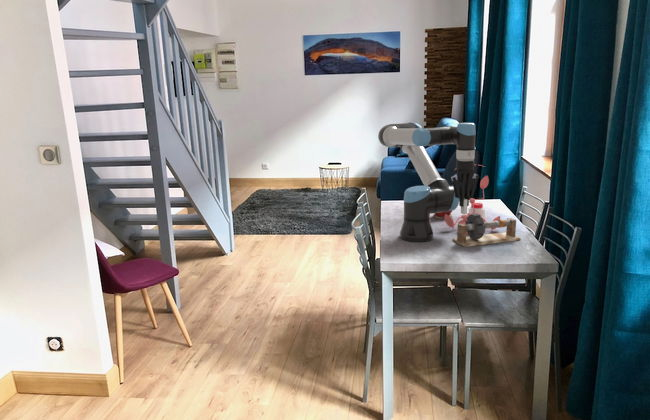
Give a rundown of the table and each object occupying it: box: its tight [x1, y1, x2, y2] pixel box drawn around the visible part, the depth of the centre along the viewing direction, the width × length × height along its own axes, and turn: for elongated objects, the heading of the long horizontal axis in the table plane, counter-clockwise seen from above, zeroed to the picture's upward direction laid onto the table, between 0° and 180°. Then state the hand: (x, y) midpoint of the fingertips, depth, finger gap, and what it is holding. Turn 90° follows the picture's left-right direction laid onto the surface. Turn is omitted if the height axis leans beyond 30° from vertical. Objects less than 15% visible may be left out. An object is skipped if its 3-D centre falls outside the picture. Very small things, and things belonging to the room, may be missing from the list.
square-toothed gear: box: [466, 213, 486, 240], centre depth 232 cm, size 3×11×11 cm, turn 16°
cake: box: [432, 211, 453, 220], centre depth 274 cm, size 11×9×18 cm
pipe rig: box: [452, 217, 521, 248], centre depth 234 cm, size 28×10×9 cm, turn 106°
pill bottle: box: [468, 202, 486, 220], centre depth 258 cm, size 8×8×11 cm
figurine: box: [444, 164, 501, 236], centre depth 252 cm, size 15×26×35 cm
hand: (463, 213), depth 229 cm, fingers closed
